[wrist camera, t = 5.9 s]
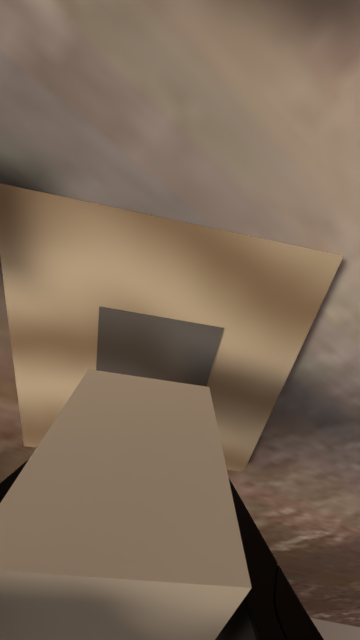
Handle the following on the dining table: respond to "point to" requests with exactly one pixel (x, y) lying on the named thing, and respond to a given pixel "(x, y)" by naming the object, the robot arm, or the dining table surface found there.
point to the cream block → (123, 520)
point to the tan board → (152, 308)
